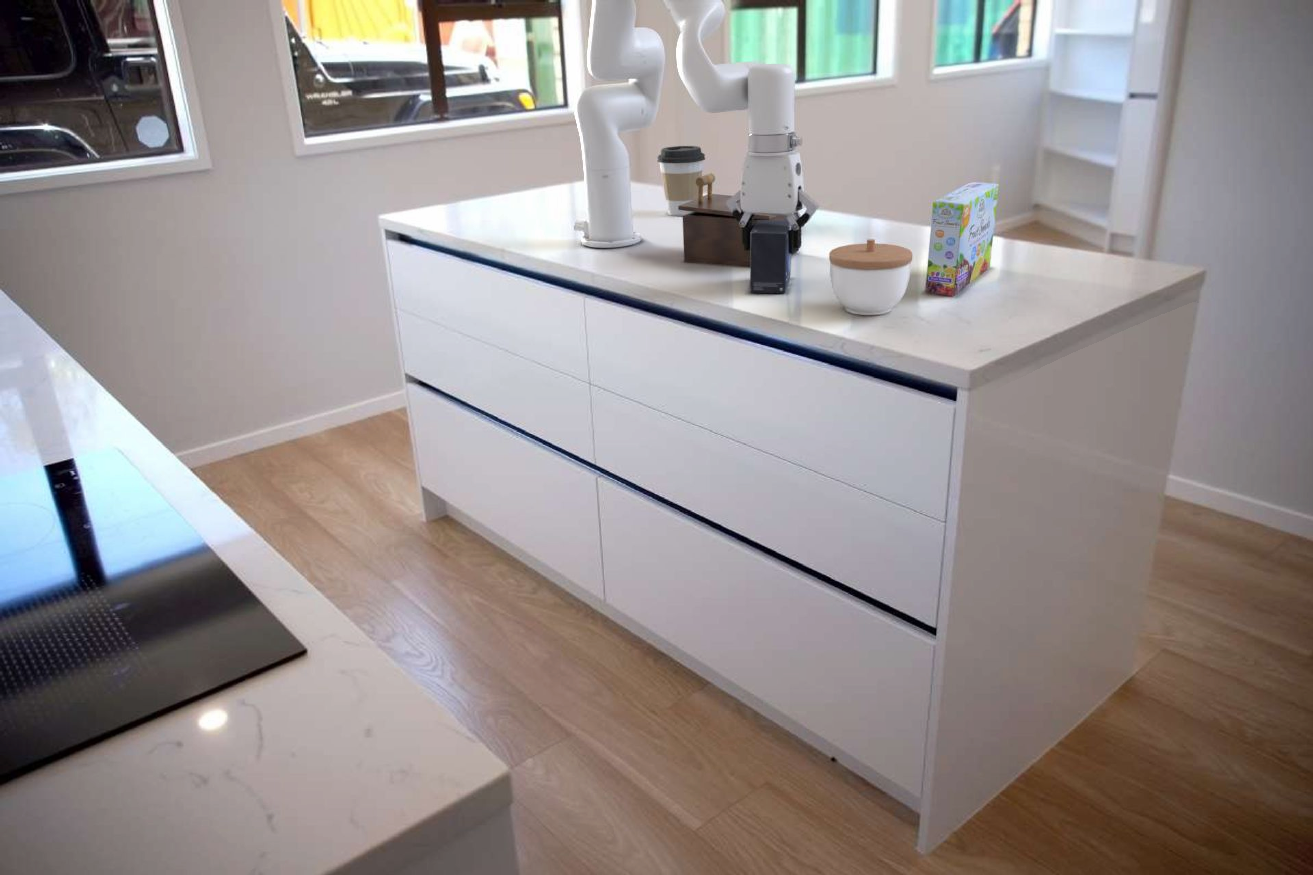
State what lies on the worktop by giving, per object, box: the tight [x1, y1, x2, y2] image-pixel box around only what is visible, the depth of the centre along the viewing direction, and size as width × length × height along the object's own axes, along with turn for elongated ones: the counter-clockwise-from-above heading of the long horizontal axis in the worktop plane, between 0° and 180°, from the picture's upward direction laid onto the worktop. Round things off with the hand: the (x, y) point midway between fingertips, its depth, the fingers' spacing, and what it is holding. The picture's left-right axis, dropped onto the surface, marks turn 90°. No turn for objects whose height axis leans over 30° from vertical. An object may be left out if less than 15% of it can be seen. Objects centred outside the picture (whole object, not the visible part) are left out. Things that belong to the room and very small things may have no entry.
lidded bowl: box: [828, 238, 913, 316], centre depth 156 cm, size 13×13×11 cm
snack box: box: [924, 181, 1000, 297], centre depth 168 cm, size 21×6×15 cm, turn 148°
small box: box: [749, 220, 792, 294], centre depth 171 cm, size 11×6×10 cm, turn 168°
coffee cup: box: [656, 145, 706, 217], centre depth 235 cm, size 11×11×15 cm
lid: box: [678, 172, 779, 220], centre depth 189 cm, size 19×14×6 cm
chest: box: [682, 212, 798, 268], centre depth 192 cm, size 18×14×9 cm
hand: (771, 250), depth 171 cm, fingers closed on small box, 7 cm apart
